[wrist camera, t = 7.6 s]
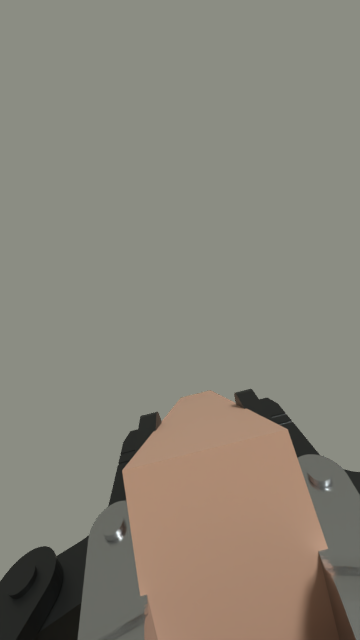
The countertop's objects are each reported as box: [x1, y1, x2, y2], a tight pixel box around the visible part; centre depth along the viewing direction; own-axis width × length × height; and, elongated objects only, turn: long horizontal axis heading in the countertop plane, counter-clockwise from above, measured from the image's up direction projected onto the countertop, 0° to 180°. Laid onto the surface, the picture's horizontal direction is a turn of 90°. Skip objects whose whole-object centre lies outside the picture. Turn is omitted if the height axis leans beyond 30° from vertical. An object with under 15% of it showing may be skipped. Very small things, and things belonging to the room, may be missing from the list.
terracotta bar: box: [122, 390, 339, 640], centre depth 15 cm, size 22×4×4 cm, turn 177°
